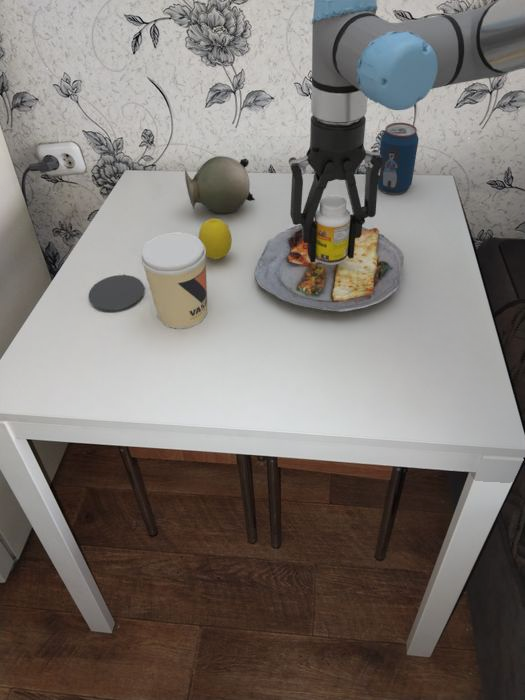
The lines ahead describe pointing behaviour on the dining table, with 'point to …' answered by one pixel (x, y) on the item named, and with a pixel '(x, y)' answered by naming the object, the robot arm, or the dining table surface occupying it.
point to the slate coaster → (116, 293)
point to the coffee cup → (177, 278)
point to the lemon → (215, 238)
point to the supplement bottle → (332, 230)
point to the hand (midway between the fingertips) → (330, 255)
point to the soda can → (397, 157)
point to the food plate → (330, 272)
